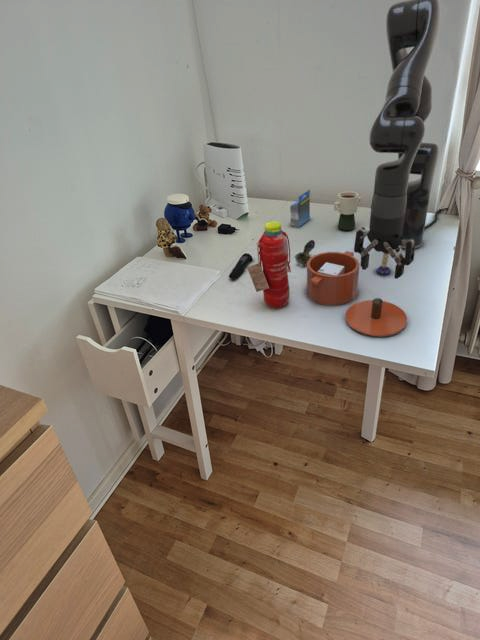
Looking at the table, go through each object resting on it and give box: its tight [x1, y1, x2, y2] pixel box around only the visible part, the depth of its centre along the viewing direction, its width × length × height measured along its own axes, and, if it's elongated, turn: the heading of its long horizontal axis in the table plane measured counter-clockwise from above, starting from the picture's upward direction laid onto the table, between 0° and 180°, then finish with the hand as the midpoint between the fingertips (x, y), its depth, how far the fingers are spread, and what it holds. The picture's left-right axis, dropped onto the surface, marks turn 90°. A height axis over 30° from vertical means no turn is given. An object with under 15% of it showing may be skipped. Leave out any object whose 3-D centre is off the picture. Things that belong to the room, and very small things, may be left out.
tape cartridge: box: [289, 189, 311, 228], centre depth 169 cm, size 9×4×12 cm, turn 144°
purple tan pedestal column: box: [375, 253, 391, 277], centre depth 132 cm, size 5×5×17 cm
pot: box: [306, 250, 361, 306], centre depth 128 cm, size 15×20×10 cm
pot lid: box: [345, 297, 408, 337], centre depth 116 cm, size 16×16×6 cm
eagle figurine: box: [294, 239, 316, 268], centre depth 146 cm, size 8×7×9 cm
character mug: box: [333, 191, 362, 231], centre depth 161 cm, size 11×7×13 cm, turn 108°
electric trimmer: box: [228, 252, 253, 280], centre depth 146 cm, size 4×16×3 cm, turn 158°
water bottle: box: [246, 220, 292, 309], centre depth 121 cm, size 12×8×25 cm, turn 107°
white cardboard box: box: [318, 262, 345, 275], centre depth 129 cm, size 6×6×7 cm
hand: (380, 272), depth 109 cm, fingers open, 8 cm apart
